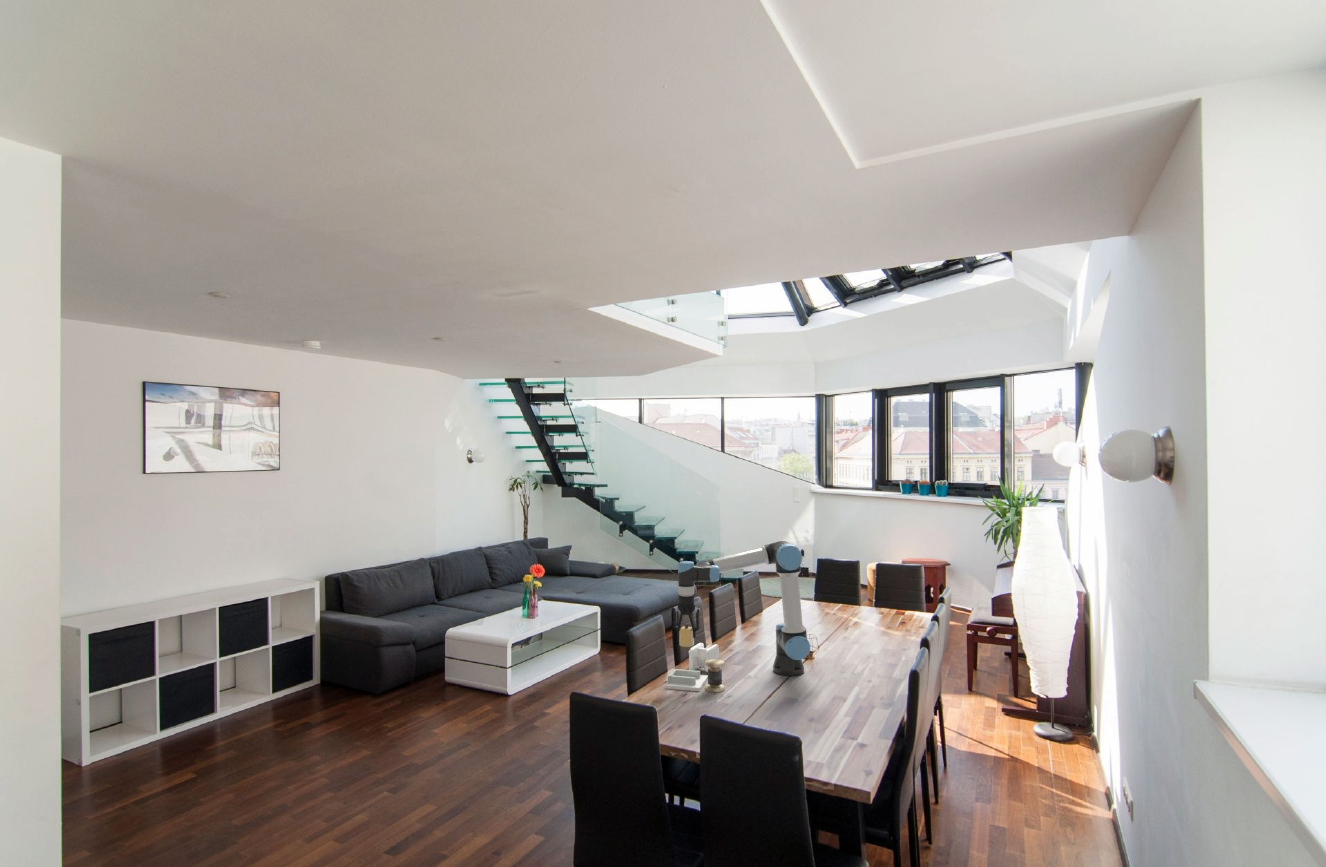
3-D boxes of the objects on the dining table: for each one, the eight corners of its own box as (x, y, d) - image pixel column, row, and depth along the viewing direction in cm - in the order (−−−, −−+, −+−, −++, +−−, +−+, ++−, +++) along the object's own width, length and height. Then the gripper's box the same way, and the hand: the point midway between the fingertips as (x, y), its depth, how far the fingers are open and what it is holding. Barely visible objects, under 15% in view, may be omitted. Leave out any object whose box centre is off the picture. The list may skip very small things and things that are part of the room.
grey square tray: (708, 678, 320) (708, 669, 320) (699, 691, 303) (699, 681, 303) (675, 676, 325) (675, 666, 325) (665, 688, 307) (665, 678, 307)
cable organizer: (707, 675, 325) (707, 651, 325) (688, 672, 330) (687, 648, 330) (719, 666, 338) (719, 643, 339) (700, 664, 343) (700, 641, 343)
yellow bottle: (693, 644, 316) (692, 622, 316) (690, 647, 311) (690, 625, 312) (682, 643, 317) (682, 622, 318) (680, 646, 313) (680, 624, 313)
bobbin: (726, 686, 309) (726, 660, 309) (722, 693, 300) (722, 666, 301) (707, 684, 312) (707, 658, 312) (703, 691, 303) (702, 664, 303)
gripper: (706, 594, 316) (707, 643, 315) (670, 592, 321) (670, 641, 320) (703, 597, 309) (703, 648, 308) (665, 595, 314) (666, 645, 313)
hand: (686, 644), depth 314 cm, fingers closed on yellow bottle, 5 cm apart
